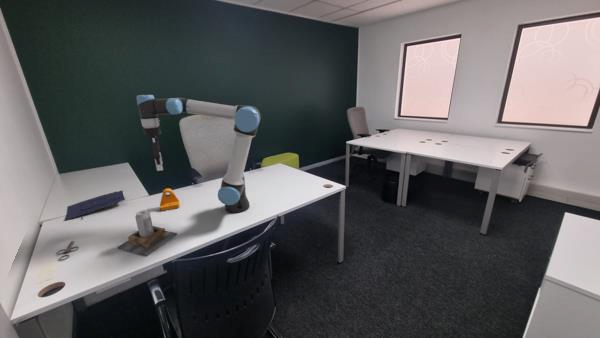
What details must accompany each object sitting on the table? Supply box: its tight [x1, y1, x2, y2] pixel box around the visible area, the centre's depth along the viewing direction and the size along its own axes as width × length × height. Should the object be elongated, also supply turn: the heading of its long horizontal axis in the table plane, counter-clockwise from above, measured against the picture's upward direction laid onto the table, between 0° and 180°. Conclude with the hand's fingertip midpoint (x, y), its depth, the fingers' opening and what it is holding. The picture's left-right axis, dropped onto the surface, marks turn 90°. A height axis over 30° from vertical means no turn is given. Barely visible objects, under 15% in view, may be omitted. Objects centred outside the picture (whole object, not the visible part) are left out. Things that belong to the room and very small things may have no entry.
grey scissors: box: [56, 240, 80, 261], centre depth 114 cm, size 8×18×2 cm, turn 31°
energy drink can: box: [134, 209, 154, 239], centre depth 117 cm, size 6×6×15 cm
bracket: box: [159, 188, 180, 212], centre depth 153 cm, size 11×7×12 cm, turn 116°
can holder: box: [117, 225, 178, 257], centre depth 119 cm, size 18×18×5 cm
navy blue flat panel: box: [63, 190, 126, 221], centre depth 157 cm, size 24×30×4 cm
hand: (160, 167), depth 129 cm, fingers open, 13 cm apart
